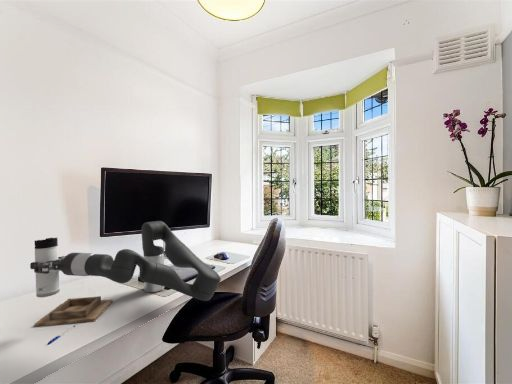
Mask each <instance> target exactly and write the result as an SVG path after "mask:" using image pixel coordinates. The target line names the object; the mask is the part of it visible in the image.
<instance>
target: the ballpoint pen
mask: <svg viewBox="0 0 512 384" xmlns="http://www.w3.org/2000/svg"><path fill="white" fill-rule="evenodd" d="M75 327H76V325H72V326H70V328H68V329H67V330H65V331H64V332H62V333H60V334H59V335H57V336H55V337H53V338H52V339H51V340H49V341H48V343H47V345H51V344H52V343H54V342H55V341H57V340H58V339H59V338H61V337H62V336H64V335H65V334H66V333H68V332H69V331H71V330H72V329H73V328H75Z"/></svg>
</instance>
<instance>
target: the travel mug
mask: <svg viewBox="0 0 512 384" xmlns="http://www.w3.org/2000/svg"><path fill="white" fill-rule="evenodd" d="M58 242H59V241H58V237H47V238H45V239H38V240H37V239H36V240H34V262H47V261H49V260H57V259H58V257H59V247H58V246H59V243H58ZM52 263H53V262H51V266H52ZM43 265H46V264H43ZM35 292H36V293H35V295H36V297H37V298H47V297H52V296H55V295H56V294H58V293H60V271H49V273H48V274H43V273H35Z"/></svg>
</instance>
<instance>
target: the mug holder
mask: <svg viewBox="0 0 512 384" xmlns="http://www.w3.org/2000/svg"><path fill="white" fill-rule="evenodd" d="M112 303H113V299H102V296H100V295H99V296H89V297H76V298H75V297H73V298H68V299H66V300H65V301H64V302H63V303H60V304H59V305H58V306H56V307H55V308H54V309H52V310H50V311H49V312H48V313H47V314H45V315H44V316H43V317H41V318H40V319H39V320H38V321H36V322H35V323H34V327H45V326H46V327H47V326H54V325H66V324H68V325H69V324H76V323H77V324H78V323H86V322H87V323H88V322H96V321H97V320H98V318H99V317H100V316H101V315H103V313H104V311H106V309H108V307H109V306H110V305H111V304H112Z"/></svg>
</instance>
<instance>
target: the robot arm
mask: <svg viewBox="0 0 512 384" xmlns="http://www.w3.org/2000/svg"><path fill="white" fill-rule="evenodd" d="M158 240H161V241H163V242H164V243H165V246H164V247H163V246H160V245H155V244H154V241H158ZM141 243H142V244H141V245H142V251H143V255H141V254H140V253H138V252H137V251H135V250H132V249H129V248H128V249H127V248H124V249H121V250H119V251H117V253H116V255H115V257H114V258H113V256H112V255H111V254H110V255H109V254H104V253H92V252H91V253H90V252H70V253H68V254H66V255H62V256H58V259H57V260H49V261H47V262H35V261H32V262H31V263H30V264H29V266H30V269H31V270H33V272H34V273H35V274H36V273H43V274H48V273H49V271H59V272H61V273H63V274H64V275H66V276H71V277H72V276H74V277H75V276H76V277H88V276H91V277H102V278H105V279H108V280H110V281H112V282H115V283H117V284H126V283H128V282H130V281H131V280H132V279H133V276H134V274H135V271H136V268H137V266H138V268H139V269H138V270H139V273H138V274H139V275H138V277H139V280H140V282H143V287H144V288H143V291H144V292H145V293H156V292H157V293H158V292H160V291H164V289H165V288H169V289H171V290H174V291H175V292H178V293H181V294H182V295H186V296H189V297H191V298H192V299H196V300H200V301H204V302H205V301H206V302H207V301H210V300H211V298H213V296H214V295H215V292H216V290H217V289H218V287H219V285H220V283H221V280H222V279H221V276H220V275H219V273H217V272H216V271H215V270H214V269H213V268H211V266H209V265H208V264H207V263H205V262H204V261H202V259H200V258H199V257H198V256H197V255H196V254H195V253H194V252H193V251H192V250H191V249H190V248H189V247H188V246H187V245H186V244H185V243H184V242H183V241H181V239H179V238H178V237H177V236H176V235H175V233H174V232H173V230H171V229H170V228H169V226H168V224H166V223H165V222H164V221H162V220H156V221H147V222H144V223H143V224H142V225H141ZM165 257H166V258H167V260H168V261H169V262H170V263H171V264H172V265H173V266H174V267H177V268H181V269H182V268H183V269H184V268H188V269H194V270H195V271H197V276H196V277H195V280H194V281H193V282H192V284H191V283H187V282H186V281H184V280H183V279H182V278H181V277H180V276H179V274H178V273H177V272H176V271H175V270H174V269H173V268H172V267H170V266H169V265H166V264H165ZM51 262H53V263H52V266H51ZM43 264H46V265H43Z"/></svg>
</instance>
